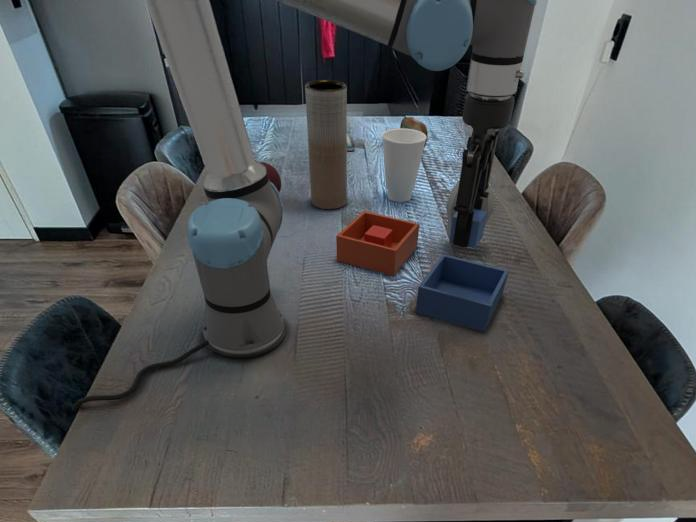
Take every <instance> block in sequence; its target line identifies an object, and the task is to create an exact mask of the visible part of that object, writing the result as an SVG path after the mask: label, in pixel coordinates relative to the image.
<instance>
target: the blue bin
mask: <svg viewBox="0 0 696 522" xmlns="http://www.w3.org/2000/svg"><path fill="white" fill-rule="evenodd" d="M509 273H510V270H509V269H504V268H500V267H497V266H494V265H489V264H485V263H481V262H476V261H473V260H469V259H465V258H461V257H457V256H453V255H448V254H445V253H442V254H441V255H440V256H439V258H438V259H437V260H436V262H435V263H434V265H433V266H432V267H431V269H430V270H429V271H428V273H427V274H426V276H425V277H424V279H423V280H422V281H421V282H420V284H418V287H417V295H416V303H415V312H414V313H416V314H420V315H424V316H427V317H430V318H434V319H437V320H440V321H444V322H447V323H451V324H454V325H458V326H461V327H464V328H468V329H472V330H475V331H479V332H482V333H485V332H486V329H487V328H488V325H489V324H490V321H491V319H492V317H493V315H494V313H495V311H496V309H497V307H498V305H499V303H500V301H501V300H502V297H503V294H504V290H505V286H506V283H507V280H508V276H509Z"/></svg>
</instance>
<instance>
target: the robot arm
mask: <svg viewBox="0 0 696 522" xmlns="http://www.w3.org/2000/svg"><path fill="white" fill-rule="evenodd" d="M144 1H145V4H146V8H147V10H148V13H149V15H150V18H151V22H152V24H153V26H154V27H153V28H154V30H155V32H156V34H157V38H158V40H159V43H160V46H161V49H162V51H163V54H164V57H165V59H166V62H167V65H168V67H169V71H170V74H171V76H172V79H173V82H174V84H175V88H176V89H177V90H176V91H177V92H178V95H179V99H180V101H181V104H182V107H183V111H184V112H185V115H186V118H187V121H188V123H189V126H190V129H191V132H192V134H193V138H194V141H195V143H196V147H197V149H198V151H199V154H200V157H201V160H202V162H203V165H204V167H205V171H206V172H205V176H204V177H203V180H202V182H201V186H202V188H203V191H204V193H205V196H206V200H207V204H201V205H199V206H198V207H197V208H196V209H195V210H193V211H192V213H191V215H190V216H189V219H188V222H187V234H188V244H189V247H190V251H191V252H192V256H193V260H194V263H195V267H196V270H197V274H198V279H199V283H200V285H201V290H202V295H203V297H204V302H205V308H204V315H203V325H202V334H203V338H204V341H203V342H201V343H199V344H198V345H196V346H194V347H193V348H191V349H189V350H188V351H186V352H185V353H183V354H182V355H180V356H179V357H176V358H174V359H172V360H168V361H163V362H162V361H161V362H157V363H153V364H149V365H147V366H145V367H144V368H142V369H141V370H139V371H138V373H137V374H136V376H135V379H134V381H133V383H132V385H131V387H130V388H129V389H127V390H126V391H124V392H122V393H118V394H110V395H88V396H84V397H82V398H80V399H78V400H77V401H76V402H74V404H73V405H72V407H71V411H77V410H78V409H80V407H81V406H83V405H84V404H86V403H89V402H97V401H100V402H101V401H102V402H103V401H104V402H106V401H117V400H122V399H126V398H127V397H129V396H130V395H133V393H135V392H136V390H137V389H138V387H139V385H140V383H141V380H142V378H143V377H144V375H145V374H146V373H148V372H151V371H152V370H156V369H159V368H166V367H170V366H174V365H177V364H179V363H181V362H183V361H184V360H186V359H188V358H189V357H191V356H192V355H193V354H195V353H197V352H199V351H201V350H202V349H204V348H206V347H208V349H209V350H211V351H212V352H213V353H215V354H216V355H219V356H222V357H226V358H230V359H249V358H255V357H259V356H261V355H264V354H267V353H269V352H271V351H273V350H274V349H275V348H276V347H278V346H279V345H280V344H281V343H282V341H283V340H284V338H285V335H286V323H285V318H284V316H283V314H282V312H281V311H280V310H279V308H278V306H277V304H276V300H274V298H273V296H272V292H271V284H270V276H269V269H268V268H269V267H268V259H269V255H270V253H271V250H272V247H273V245H274V242H275V240H276V237H277V235H278V233H279V231H280V229H281V226H282V223H283V216H284V214H283V213H284V211H283V210H284V207H283V201H282V197H281V194H280V193H279V192H278V190H277V189H276V187H275V186H274V184H273V183H272V182H270V180H269V177H268V173H267V170H266V167H265V166H264V165H262V164H261V163H259V162H260V161H258V160H256V158H255V156H254V152H253V151H254V150H253V148H252V145H251V141H250V138H249V137H250V136H249V133H248V131H247V127H246V123H245V120H244V117H243V113H242V109H241V106H240V102H239V99H238V96H237V91H236V88H235V85H234V81H233V79H232V74H231V71H230V67H229V64H228V61H227V57H226V54H225V49H224V47H223V44H222V39H221V37H220V33H219V30H218V26H217V22H216V19H215V15H214V11H213V7H212V5H211V1H210V0H144ZM276 1H277V2H280V3H282V4H285V5H287V6H290V7H292V8H294V9H297V10H299V11H302V12H304V13H306V14H309V15H312V16H314V17H316V18H319V19H321V20H324V21H326V22H329V23H331V24H333V25H335V26H338V27H341V28H343V29H346V30H348V31H350V32H353V33H356V34H359V35H361V36H364V37H365V38H368V39H370V40H373V41H376V42H378V43H380V44H383V45H385V46H387V47H388V48H391V49H393V50H395V51H397V52H400V53H402V54H405V55H407V56H410V57H412V59H413V60H414V61H415V62H416V63H417V64H418V65H419V66H421V67H422V68H424V69H426V70H429V71H433V72H440V71H445V70H448V69H450V68H452V67H453V66H455V65H456V64H457V63H459V61H461V60H462V58H463V57H464V55H465V54H466V52H467V51H468V49H469V46H472V51H471V56H470V62H469V68H468V75H467V81H466V91H467V92H468V93H467V94H466V95H465V96H464V105H463V111H462V117H461V119H462V121H463V123H464V124H465V125H467V126H470V127H471V128H472V132H471V135H470V136H468V138H467V142H466V148H464V149H463V152H462V157H461V158H462V159H461V170H460V176H459V180H460V182H459V188H458V194H457V201H456V206H454V208H453V210H455V211H456V212H458V215H457V221H456V227H455V233H454V240H453V244H452V246H456V247H460V246H461V247H460V248H466V249H467V248H469V247H468V243H469V238H470V232H471V227H472V221H473V216H474V211H473V209H478V210H481V208H482V203H483V199H481V197H484V198H488V195H489V193H488V192H485V190H487V189H488V186H490V178H491V173H492V168H493V163H494V158H495V153H496V147H497V143H498V140H499V136H500V133H501V132H500V131H501V130H500V129H504V128H506V127H507V126H509V125H510V123H511V120H512V115H513V111H514V106H515V101H516V99H515V98H514V96H513V95H514V94H516V93H517V90H518V85H519V80H520V79H521V80H522V79H523V78H524V77H525V71H524V70H521V67H522V66H523V62H524V56H525V53H526V47H527V43H528V38H529V35H530V29H531V25H532V19H533V15H534V12H535V8H536V5H537V2H538V1H537V0H276ZM488 184H489V185H488Z"/></svg>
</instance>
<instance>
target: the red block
mask: <svg viewBox="0 0 696 522" xmlns="http://www.w3.org/2000/svg"><path fill="white" fill-rule="evenodd" d="M392 234H393V230H392V229H388V228H384V227H380V226H375V225H373V226H372V227H371V228H370V229H369V230H368V231H367V232H366V233H365V235H364V241H366V242H370V243H374V244H378V245H382V246H386V247H390V248H392Z"/></svg>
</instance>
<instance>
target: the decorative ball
mask: <svg viewBox="0 0 696 522" xmlns="http://www.w3.org/2000/svg"><path fill="white" fill-rule="evenodd" d="M258 162H259V163H261V164H262V165H264V166H265V167H266V170H267V173H268V177H269V180H270V182H272V183H273V184H274V186H275V187H276V189H277V190H278V192H279V194H280V193H281V190H282V179H281V176H280V173H279V172H278V170H277V169H276V168H275V167H274V166H273V165H272V164H270V163H267V162H264V161H258Z"/></svg>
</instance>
